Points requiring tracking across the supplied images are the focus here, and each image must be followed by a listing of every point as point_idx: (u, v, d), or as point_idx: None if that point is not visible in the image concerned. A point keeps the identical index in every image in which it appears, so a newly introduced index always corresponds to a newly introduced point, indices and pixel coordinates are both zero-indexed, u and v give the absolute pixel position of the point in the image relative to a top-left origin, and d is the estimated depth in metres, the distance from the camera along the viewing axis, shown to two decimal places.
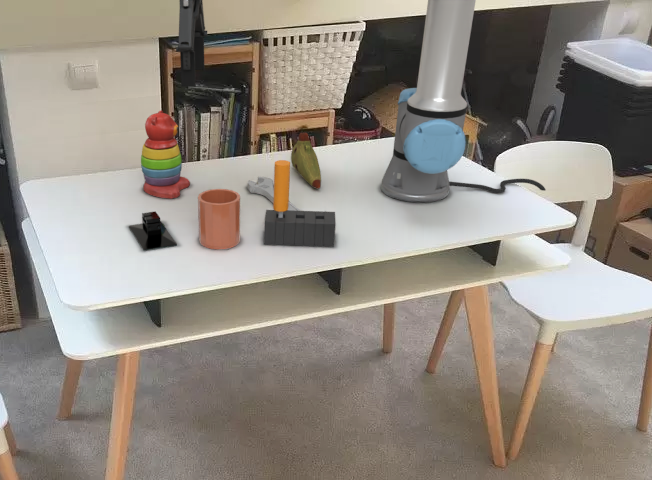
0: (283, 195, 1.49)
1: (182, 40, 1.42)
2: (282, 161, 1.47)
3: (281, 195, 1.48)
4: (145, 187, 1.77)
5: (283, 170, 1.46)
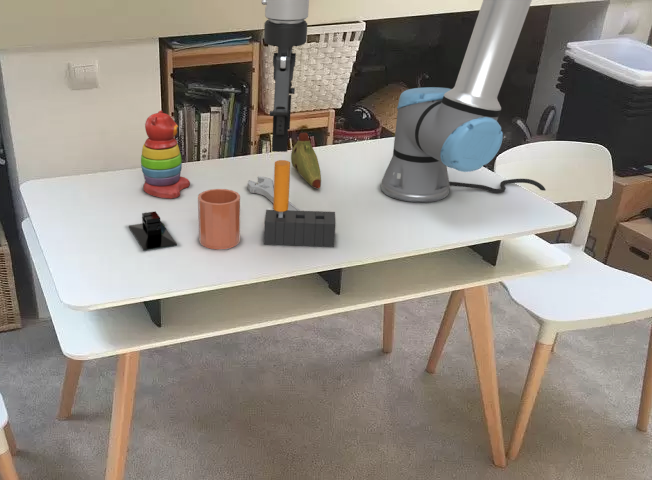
0: (283, 195, 1.49)
1: (278, 105, 1.31)
2: (282, 161, 1.47)
3: (281, 195, 1.48)
4: (145, 187, 1.77)
5: (283, 170, 1.46)
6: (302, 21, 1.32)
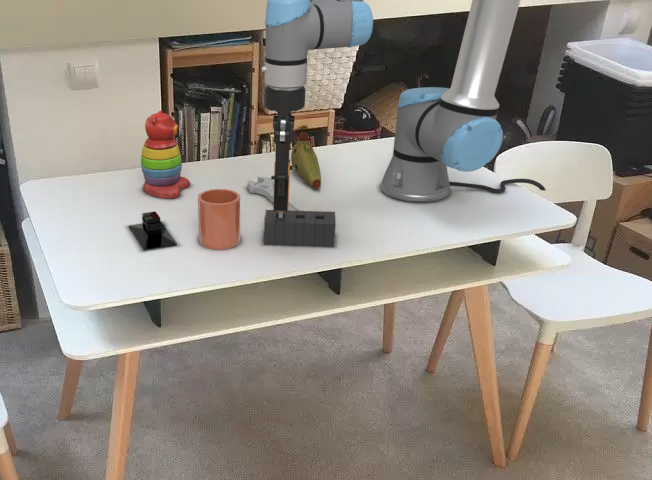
0: None
1: (278, 173, 1.42)
2: None
3: None
4: (145, 187, 1.77)
5: None
6: (300, 87, 1.38)
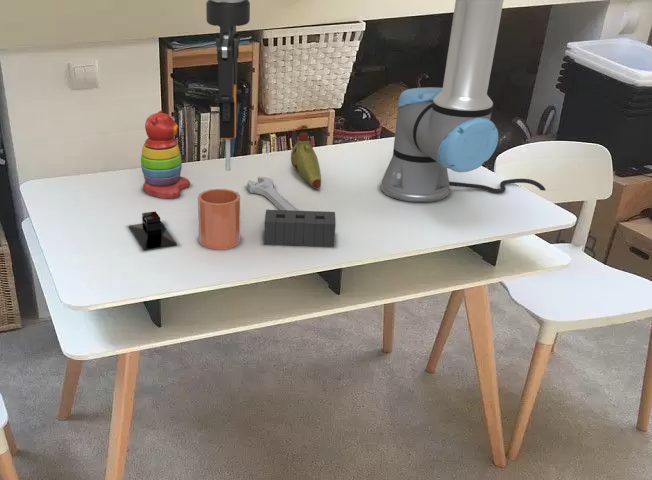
0: None
1: (222, 93, 1.34)
2: None
3: None
4: (145, 187, 1.77)
5: None
6: (244, 0, 1.29)
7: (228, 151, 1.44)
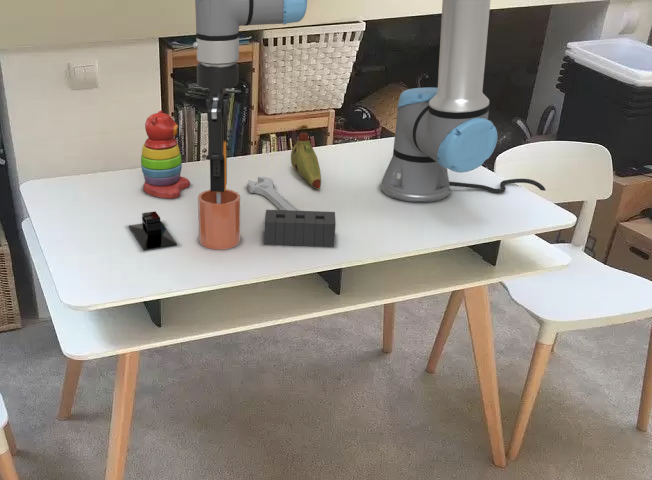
0: None
1: (212, 152, 1.39)
2: None
3: None
4: (145, 187, 1.77)
5: None
6: (233, 64, 1.35)
7: (219, 203, 1.50)
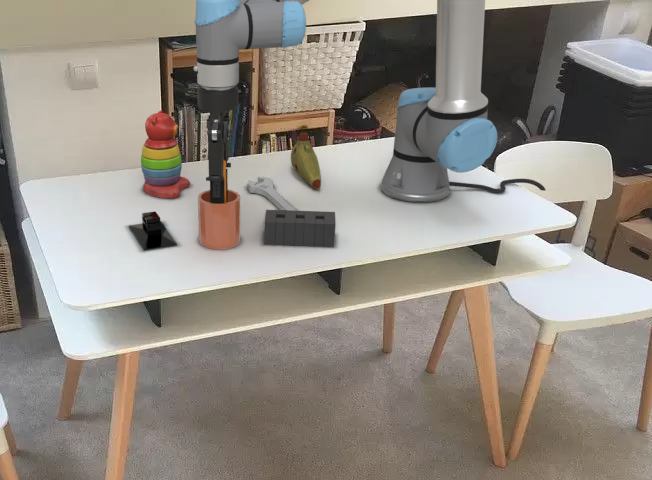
0: None
1: (212, 173, 1.41)
2: None
3: None
4: (145, 187, 1.77)
5: None
6: (233, 87, 1.37)
7: None
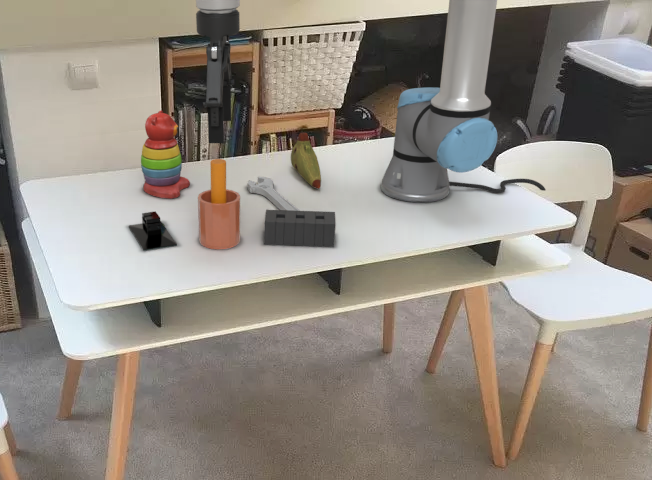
0: (220, 194, 1.48)
1: (210, 96, 1.30)
2: (218, 160, 1.46)
3: (218, 194, 1.48)
4: (145, 187, 1.77)
5: (219, 168, 1.45)
6: (233, 10, 1.30)
7: None
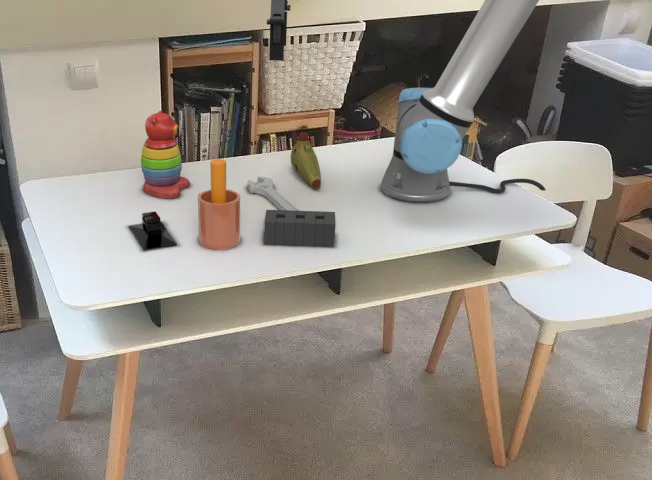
0: (220, 194, 1.48)
1: (274, 12, 1.39)
2: (218, 160, 1.46)
3: (218, 194, 1.48)
4: (145, 187, 1.77)
5: (219, 168, 1.45)
6: None
7: None
